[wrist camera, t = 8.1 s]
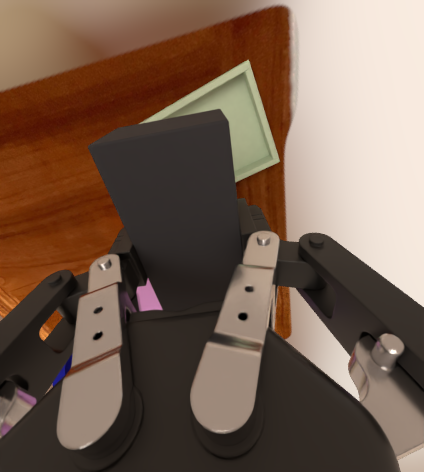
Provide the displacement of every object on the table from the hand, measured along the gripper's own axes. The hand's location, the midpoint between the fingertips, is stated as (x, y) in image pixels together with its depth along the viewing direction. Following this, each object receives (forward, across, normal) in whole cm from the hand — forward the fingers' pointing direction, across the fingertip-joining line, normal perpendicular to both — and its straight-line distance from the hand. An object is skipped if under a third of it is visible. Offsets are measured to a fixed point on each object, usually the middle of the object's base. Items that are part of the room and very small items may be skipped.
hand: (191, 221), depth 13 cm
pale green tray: (+15, 0, -1) cm, 15 cm away
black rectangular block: (0, 0, 0) cm, 0 cm away
